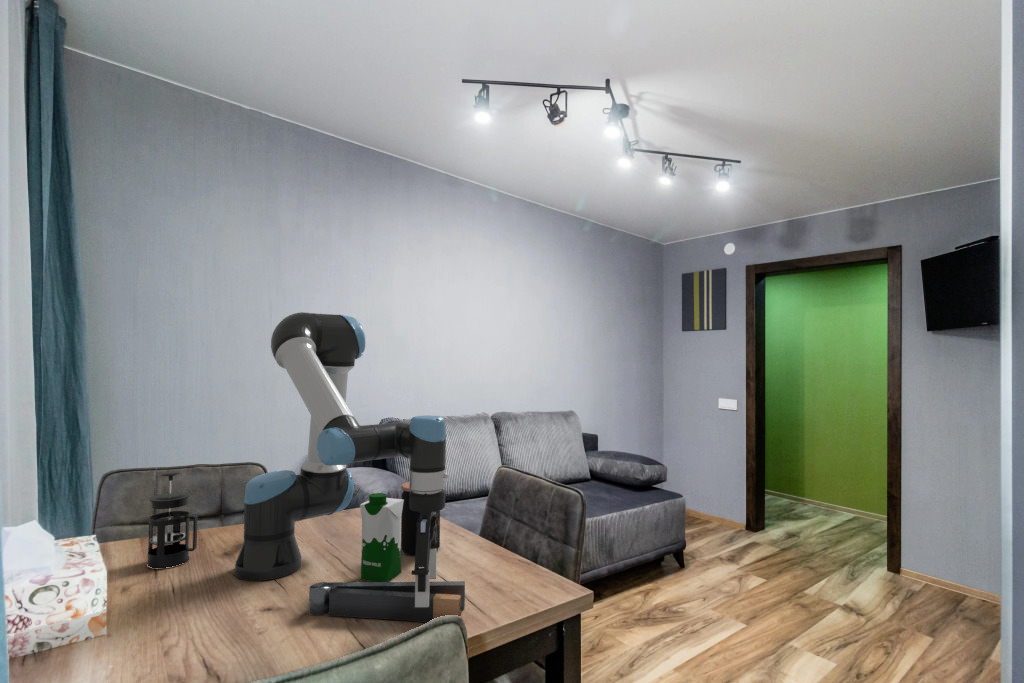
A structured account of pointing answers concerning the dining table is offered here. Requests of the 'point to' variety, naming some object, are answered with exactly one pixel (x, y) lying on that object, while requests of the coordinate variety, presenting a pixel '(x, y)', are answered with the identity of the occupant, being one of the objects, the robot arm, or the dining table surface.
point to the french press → (175, 550)
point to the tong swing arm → (390, 605)
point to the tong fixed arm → (322, 589)
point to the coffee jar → (411, 524)
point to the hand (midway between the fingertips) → (426, 591)
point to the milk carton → (381, 538)
